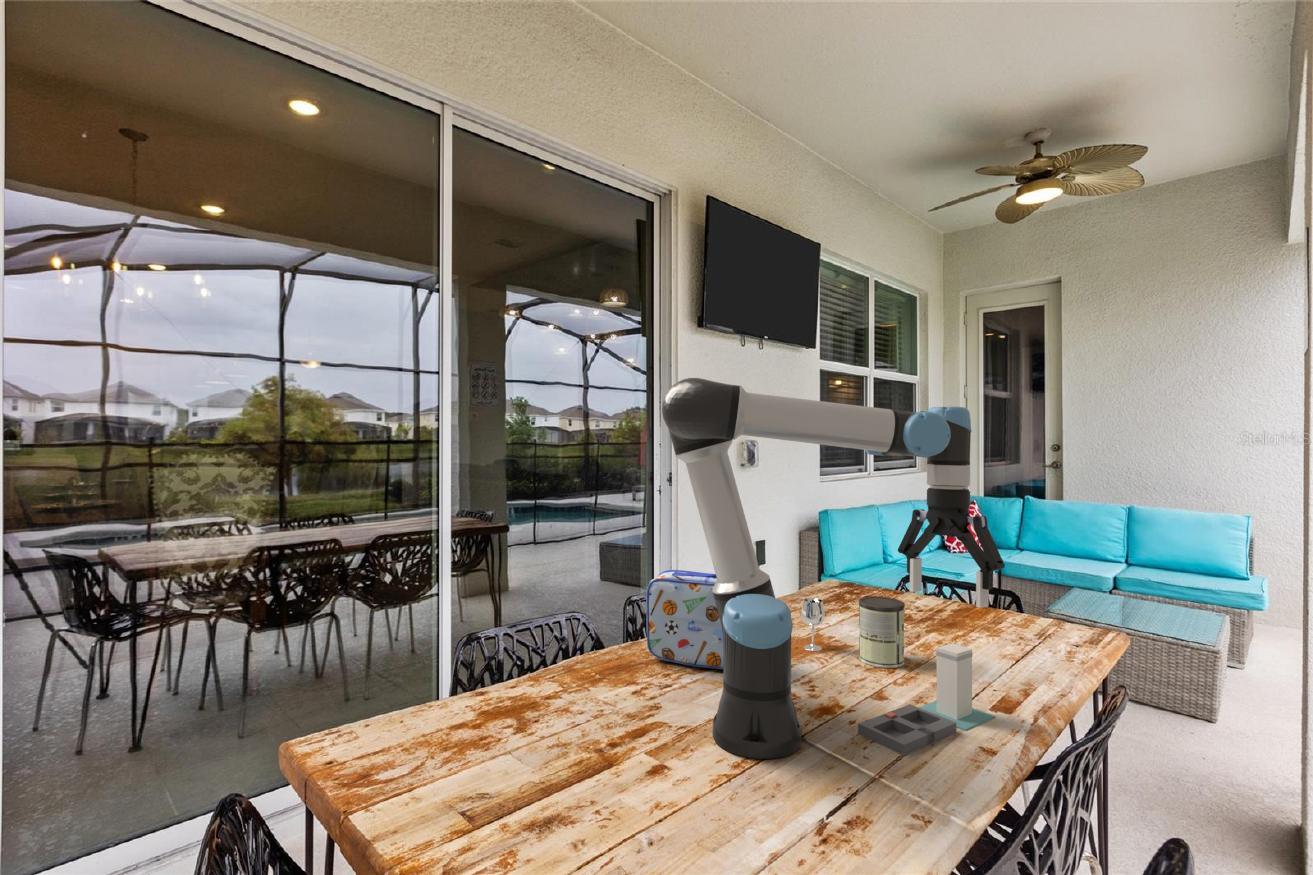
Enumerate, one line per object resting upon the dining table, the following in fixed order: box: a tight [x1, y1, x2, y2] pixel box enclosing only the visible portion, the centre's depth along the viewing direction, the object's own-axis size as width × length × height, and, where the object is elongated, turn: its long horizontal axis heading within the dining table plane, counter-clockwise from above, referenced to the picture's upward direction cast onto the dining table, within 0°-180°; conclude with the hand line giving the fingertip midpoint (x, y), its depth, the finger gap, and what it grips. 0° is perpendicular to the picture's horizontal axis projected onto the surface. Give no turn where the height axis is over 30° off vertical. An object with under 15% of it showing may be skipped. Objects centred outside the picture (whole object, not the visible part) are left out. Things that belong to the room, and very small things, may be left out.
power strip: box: [857, 704, 957, 756], centre depth 107 cm, size 15×9×3 cm, turn 123°
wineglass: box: [800, 597, 826, 652], centre depth 154 cm, size 6×6×12 cm
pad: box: [917, 700, 996, 732], centre depth 115 cm, size 10×10×1 cm
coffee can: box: [858, 596, 905, 669], centre depth 145 cm, size 10×10×14 cm
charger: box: [935, 642, 973, 720], centre depth 115 cm, size 5×4×12 cm
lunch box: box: [645, 569, 724, 670], centre depth 143 cm, size 28×10×22 cm, turn 71°
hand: (947, 598), depth 117 cm, fingers open, 13 cm apart
